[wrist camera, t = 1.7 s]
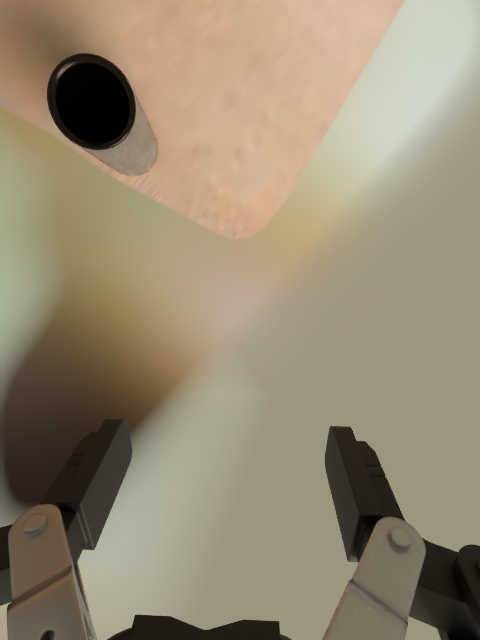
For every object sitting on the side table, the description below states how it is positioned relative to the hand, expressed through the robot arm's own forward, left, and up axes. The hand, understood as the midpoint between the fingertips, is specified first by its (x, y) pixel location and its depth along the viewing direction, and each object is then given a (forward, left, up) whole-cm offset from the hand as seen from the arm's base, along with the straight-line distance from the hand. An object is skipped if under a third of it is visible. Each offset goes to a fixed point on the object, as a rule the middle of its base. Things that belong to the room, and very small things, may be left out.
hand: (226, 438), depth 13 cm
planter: (-11, +11, -20) cm, 25 cm away
